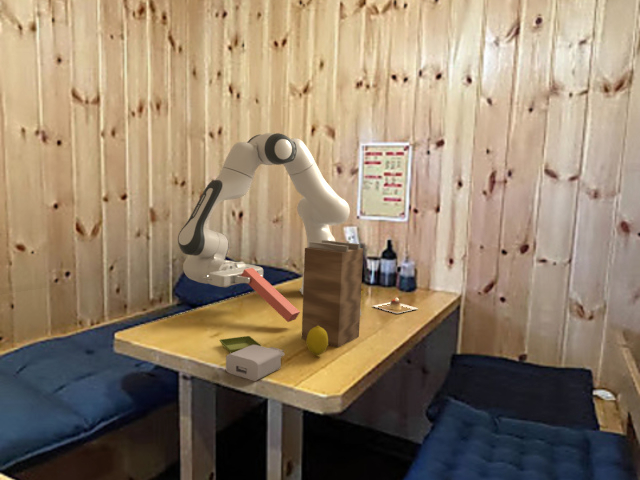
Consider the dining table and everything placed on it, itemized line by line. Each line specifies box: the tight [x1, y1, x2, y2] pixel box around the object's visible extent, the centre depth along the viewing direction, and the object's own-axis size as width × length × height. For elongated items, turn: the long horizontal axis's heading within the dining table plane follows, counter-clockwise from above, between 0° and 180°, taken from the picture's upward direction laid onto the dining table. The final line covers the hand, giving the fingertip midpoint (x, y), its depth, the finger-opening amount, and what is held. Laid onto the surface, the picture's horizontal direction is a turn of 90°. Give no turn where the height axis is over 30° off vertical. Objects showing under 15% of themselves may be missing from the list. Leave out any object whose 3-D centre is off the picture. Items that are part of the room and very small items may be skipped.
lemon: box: [306, 326, 329, 357], centre depth 127 cm, size 6×6×8 cm
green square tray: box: [219, 335, 262, 354], centre depth 131 cm, size 9×9×2 cm
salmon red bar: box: [241, 268, 301, 323], centre depth 154 cm, size 4×22×3 cm
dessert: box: [372, 297, 419, 315], centre depth 179 cm, size 12×12×5 cm
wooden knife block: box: [301, 240, 364, 348], centre depth 141 cm, size 12×12×28 cm
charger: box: [225, 345, 285, 382], centre depth 118 cm, size 5×9×15 cm
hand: (255, 279), depth 156 cm, fingers closed on salmon red bar, 4 cm apart
